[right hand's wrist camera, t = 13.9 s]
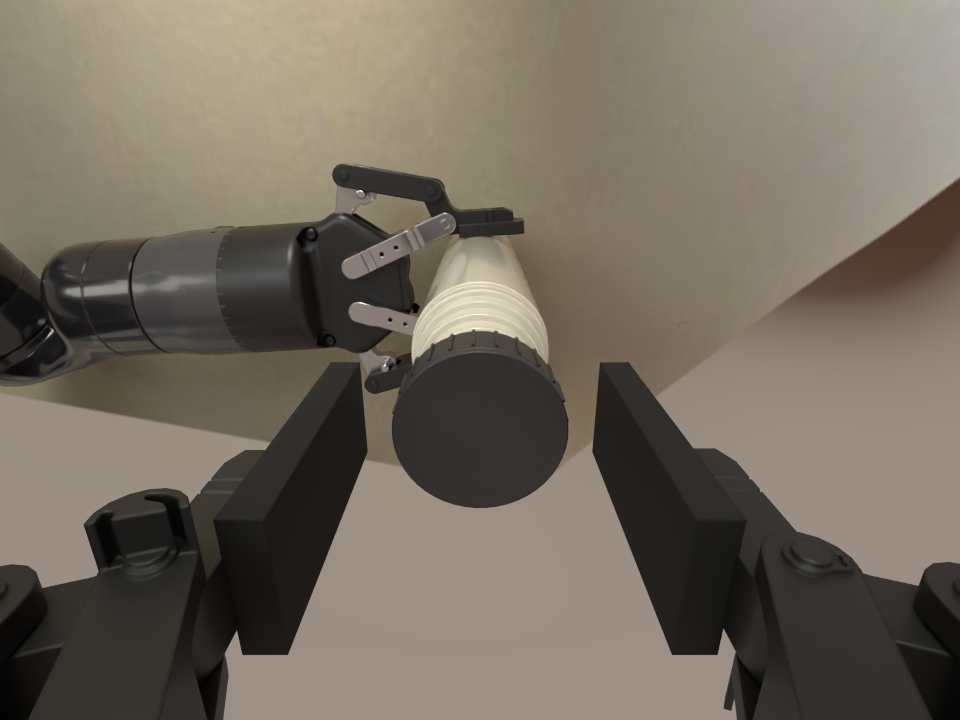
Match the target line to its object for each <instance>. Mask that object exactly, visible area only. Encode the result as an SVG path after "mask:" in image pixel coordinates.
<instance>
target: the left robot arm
mask: <svg viewBox="0 0 960 720" xmlns="http://www.w3.org/2000/svg"><path fill="white" fill-rule="evenodd" d="M333 180H334V181H335V183H336V184H337V199H336V213H333V214H331V215H329V216H328V217H326V218H325V219H323V220H322V221H317V222H305V223H290V224H276V225H261V226H246V227H233V226H219V227H217V228H214V229H202V230H192V231H186V232H181V233H177V234H173V235H168V236H161V237H148V238H133V239H119V240H106V241H94V242H85V243H80V244H75V245H72V246H69V247H66V248H64V249H62V250H61V251H59V252H57V253H56V254H55V255H54V256H53V257H52V258H51V259H50V260H49V262H48V263H47V264H46V266H45V268H44V270H43V273H42V277H41V280H40V279H39V278H38V277H37V276H36V275H35V274H34V273H33V272H32V271H31V270H30V269H29V268H28V267H27V266H25V265H24V264H23V263H22V262H21V261H20V260H19V259H18V258H17V257H16V256H15V255H14V254H13V253H12V252H11V251H10V250H9V249H8V248H7V247H5V246H4V245H3V244H2V243H1V242H0V386H27V385H33V384H36V383H40V382H43V381H46V380H49V379H52V378H55V377H58V376H61V375H64V374H67V373H70V372H73V371H76V370H79V369H82V368H85V367H88V366H91V365H94V364H96V363H99V362H102V361H105V360H107V359H110V358H113V357H117V356H142V355H158V354H174V353H189V354H201V355H223V354H240V353H256V352H272V351H288V350H304V349H320V348H330V347H338V348H342V349H345V350H348V351H350V352H353V353H358V355H359V357H360V360H361V362H362V364H363V367H364V369H365V372H366V374H367V379H366V380H365V388H366V390H367V391H368V392H370V393H373V394H377V393H381V392H384V391H388V390H391V389H394V388H398V387H401V384H402V381H403V378H404V375H405V373H406V374H408V372H409V371H410V369H411V367H412V357H411V353H409V354H405V355H402V356H397V355H396V354H395V353H394V352H392V351H380V350H378V349H377V348H376V347H375V346H376V345H377V344H378V343H379V342H380V341H382V340H383V339H384V338H385V337H386V336H388V335H389V334H390V333H391V332H392V331H395V332H399V333H403V334H406V335H410V336H413V331H414V328H415V325H416V322H417V319H418V317H419V314H420V312H421V310H422V307H423V305H424V303H422V302H418V301H415V300H414V291H413V287H412V285H411V282H410V280H409V271H410V255H409V254H410V253H412V252H414V251H416V250H418V249H420V248H421V247H423V246H425V245H427V244H429V243H432V242H434V241H436V240H438V239H440V238H442V237H445V236H447V235H453V234H459V238H470V237H485V236H499V235H514V234H523V233H524V220H523V219H522V218H513V211H512V210H510V209H507V208H504V207H499V208H484V209H470V210H459V209H457V208H455V207H454V206H453V205H452V204H451V203H450V201H449V198H448V196H447V194H446V192H445V187H444V184H443V183H442V182H441V181H440V180H438V179H435V178H429V177H424V176H418V175H412V174H407V173H401V172H396V171H390V170H385V169H379V168H373V167H368V166H362V165H357V164H339V165H337V166H336V167H335V168H334V170H333ZM377 193H378V194H383V195H389V196H395V197H400V198H406V199H412V200H418V201H423V202H425V204H426V206H427V209H428V211H429V213H430V215H431V216H430V217H428V218H426V219H424V220H422V221H420V222H417V223H415V224H412V225H410V226H408V227H406V228H404V229H402V230H400V231H398V232H395V233H393V234H391V235H389V234H388V233H386V232H385V231H383V230H381V229H380V228H378V227H377V226H375V225H373V224H372V223H370V222H368V221H367V220H365V219H364V218H362V217H360V216H359V215H357V214H355V211H356V209H357V207H358V206H359V205H366V204H369V203H372V202H373V201H374V200H375V199H376V197H377ZM411 310H413V311H411ZM404 322H406V323H407V324H405V323H404Z"/></svg>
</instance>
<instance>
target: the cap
mask: <svg viewBox="0 0 960 720" xmlns="http://www.w3.org/2000/svg"><path fill="white" fill-rule="evenodd" d="M398 394H399V395H398V398H397V401H396V403H395V406H394V409H393V413H392V414H394V416H393V421H392V437H393V443H394V448H395V451H396V454H397V456H398V459H399V461H400V463H401V465H402V466H403V468H404V470H405V471H406V472H407V474H408V475H409V476H410V478H412V480H413V481H414V482H415V483H416V484H417V485H419V486H420V487H421V488H422V489H423V490H425V491H426V492H428V493H429V494H431V495H433V496H434V497H436V498H438V499H441V500H443V501H445V502H448V503H451V504H454V505H459V506H463V507H472V508H489V507H497V506H501V505H506V504H509V503H512V502H515V501H518V500H520V499H522V498H524V497H526V496H528V495H529V494H531V493H532V492H534V491H536V490H537V489H538V488H539V487H541V486H542V485H543V484H544V483H545V482H546V481H547V480H548V479H549V478H550V477H551V476H552V474H553V473H554V471H555V470H556V469H557V467H558V465H559V463H560V461H561V459H562V457H563V455H564V452H565V449H566V445H567V440H568V417H567V414H566V410H565V406H564V404H563V403H564V402H565V399H564V396H563V393H562V391H561V388H560V385H559V382H558V381H556V380H555V377H554V375H553V372H552V369H551V366H550V364H549V363H548V364H546V362H545V361H544V360H543V359H542V357H541V356H540V355H539V354H538V353H537V350H536V349H535V348H534V349H532V348H530V347H529V346H528V345H526V344H525V343H523V342H521V341H519V338H518V337H515V338H513V337H510V336H508V335H504V334H500V333H498V331H494V332H489V331H475V329H473V330H472V331H471V332H464V333H460V334H456V335H454V334H450V337H448V338H445V339H443V340H441V341H439V342H437V343H436V344H434V343H432V344H431V346H430V348H429V349H427V350H426V351H425V352H424V353H423V354H422V355H421V356H420V357H416V358H415V361H414V364H413V365H412V367H411V369H410V371H409V372H408V374H406V373H405V375H404V378H403V381H402V384H401V387H400V389H399V392H398Z"/></svg>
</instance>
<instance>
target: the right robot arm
mask: <svg viewBox="0 0 960 720" xmlns="http://www.w3.org/2000/svg"><path fill="white" fill-rule="evenodd" d="M367 452H368V451H367V439H366V428H365V416H364V405H363V393H362V382H361V370H360V362H331V364H330V365H329V366H328V368H327V369H326V370H325V372H324V373H323V374H322V376H321V377H320V378H319V380H318V381H317V382H316V384H315V385H314V386H313V388H312V389H311V390H310V392H309V393H308V394H307V396H306V397H305V398H304V400H303V401H302V402H301V404H300V405H299V406H298V407H297V409H296V410H295V411H294V413H293V414H292V415H291V417H290V418H289V419H288V421H287V422H286V423H285V425H284V426H283V427H282V429H281V430H280V431H279V433H278V434H277V435H276V437H275V438H274V439H273V441H272V442H271V443H270V445H269V446H268V447H267V449H266V450H245V451H243V452H242V453H240V454H238V455H237V456H235V457H234V458H232V459H230V460H229V461H227V462H226V463H224V464H223V466H222V467H221V468H220V469H219V470H218V471H217V473H216V474H215V475H214V476H213V477H212V480H211V481H209V482H208V483H207V484H206V485H205V487H204V488H203V489H202V490H201V494H198V495H197V496H196V497H195V498H194V499H193V501H192V502H191V503H190V504H189V500H188V497H187V496H186V495H185V494H184V493H182V492H181V491H179V490H173V489H168V488H163V489H149V490H145V491H141V492H137V493H133V494H129V495H126V496H124V497H122V498H119V499H117V500H115V501H112V502H110V503H108V504H107V505H105V506H104V507H102V508H101V509H99V510H98V511H96V512H95V513H93V514H92V516H91V517H90V518H89V519H88V520H87V521H86V522H85V523H84V527H85V530H86V533H87V536H88V540H89V542H90V546H91V549H92V552H93V555H94V558H95V561H96V564H97V567H98V570H99V572H98V574H97V576H95V577H91V578H87V579H83V580H78V581H73V582H69V583H64V584H60V585H55V586H50V587H46V588H42V586H41V584H40V581H39V578H38V576H37V573H36V572H35V571H34V570H33V569H31V568H30V567H28V566H24V565H13V564H12V565H6V566H0V720H223V716H224V708H225V699H226V691H227V683H228V668H227V662H226V658H225V652H226V650H227V648H228V646H229V644H230V642H231V640H232V638H233V636H234V634H235V632H236V631H237V632H238V636H239V641H240V646H241V650H242V654H243V655H288V653H289V651H290V648H291V646H292V643H293V640H294V638H295V635H296V633H297V630H298V628H299V625H300V623H301V620H302V617H303V615H304V612H305V610H306V607H307V605H308V602H309V600H310V597H311V595H312V592H313V590H314V587H315V584H316V582H317V579H318V577H319V574H320V572H321V569H322V567H323V564H324V561H325V559H326V556H327V554H328V551H329V549H330V546H331V544H332V541H333V539H334V536H335V533H336V531H337V528H338V526H339V523H340V521H341V518H342V516H343V513H344V511H345V508H346V505H347V503H348V500H349V498H350V495H351V493H352V490H353V487H354V485H355V483H356V480H357V477H358V475H359V472H360V470H361V467H362V465H363V462H364V460H365V457H366V454H367ZM593 454H594V457H595V460H596V462H597V465H598V467H599V470H600V472H601V475H602V477H603V480H604V482H605V485H606V488H607V490H608V493H609V495H610V498H611V500H612V503H613V505H614V508H615V511H616V513H617V516H618V518H619V521H620V523H621V526H622V528H623V531H624V533H625V536H626V539H627V541H628V544H629V546H630V549H631V551H632V554H633V556H634V559H635V561H636V564H637V567H638V569H639V572H640V574H641V577H642V579H643V582H644V584H645V587H646V590H647V592H648V595H649V597H650V600H651V602H652V605H653V607H654V610H655V612H656V615H657V618H658V620H659V623H660V625H661V628H662V630H663V633H664V635H665V638H666V640H667V643H668V646H669V648H670V651H671V653H672V655H717V654H718V650H719V646H720V641H721V636H722V632H723V628H724V630H725V632H726V634H727V636H728V637H729V639H730V641H731V643H732V645H733V647H734V649H735V651H736V653H735V658H734V662H733V666H732V670H731V675H730V679H729V683H728V687H727V692H726V696H725V703H724V709H727V710H731V709H732V705H733V701H734V698H735V706H736V714H737V720H960V564H958V563H952V562H944V563H934V564H932V565H931V566H929V567H928V568H926V569H925V570H924V573H923V576H922V578H921V581H920V584H919V586H916V585H912V584H907V583H902V582H898V581H893V580H888V579H884V578H879V577H874V576H870V575H867V574H863V573H862V571H861V569H860V568H859V567H858V565H857V564H856V563H855V561H854V560H853V559H852V558H851V557H850V556H849V555H847V554H846V553H845V552H843V551H842V550H841V549H839V548H838V547H836V546H834V545H832V544H830V543H828V542H826V541H824V540H822V539H820V538H818V537H814V536H811V535H807V534H804V533H800V532H796V531H795V529H794V528H793V527H792V526H791V525H790V524H789V522H788V521H787V520H786V519H785V518H784V517H783V515H782V514H781V513H780V512H779V511H778V510H777V508H776V507H775V506H774V505H773V504H772V503H771V502H770V500H769V499H768V498H767V497H766V496H765V495H764V493H763V492H760V489H759V488H758V487H757V485H756V484H755V483H754V482H753V481H752V480H751V479H749V476H748V475H747V474H746V473H745V471H744V470H743V469H742V468H741V467H740V466H739V465H738V463H737V462H736V461H734V460H733V459H731V458H729V457H728V456H726V455H725V454H723V453H721V452H720V451H718V450H717V449H693V447H692V446H691V445H690V443H689V442H688V441H687V439H686V438H685V437H684V435H683V434H682V433H681V431H680V430H679V429H678V427H677V426H676V425H675V423H674V422H673V421H672V419H671V418H670V417H669V416H668V414H667V413H666V411H665V410H664V409H663V408H662V406H661V405H660V404H659V402H658V401H657V400H656V398H655V397H654V396H653V394H652V393H651V392H650V390H649V389H648V388H647V386H646V385H645V384H644V382H643V381H642V380H641V378H640V377H639V376H638V374H637V373H636V372H635V370H634V369H633V368H632V366H631V365H630V364H629V362H600V370H599V382H598V393H597V405H596V416H595V428H594V439H593Z"/></svg>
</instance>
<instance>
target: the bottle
mask: <svg viewBox="0 0 960 720" xmlns="http://www.w3.org/2000/svg"><path fill="white" fill-rule="evenodd" d="M473 329H475V331H489V332H494V331H498V333H500V334H504V335H508V336H510V337H513V338H515V337H518V338H519V341H521V342H523V343H525V344H526V345H528V346H529V347H530V348H532V349H534V348H535V349H536V350H537V353H538V354H539V355H540V356H541V357H542V359H543V360H544V361H545V362H546V364H548V359H549V348H548V336H547V331H546V327H545V324H544V322H543V319H542V317H541V314H540V312H539V309H538V307H537V304H536V302H535V300H534V297H533V295H532V292H531V290H530V287H529V285H528V282H527V280H526V277H525V275H524V272H523V270H522V268H521V265H520V263H519V260H518V258H517V255H516V253H515V250H514V248H513V245H512V243H511V241H510V239H509V238H508V236H507V235H499V236H485V237H470V238H459V234H454V235H453V236H452V238H451V239H450V241H449V243H448V245H447V248H446V250H445V253H444V255H443V258H442V260H441V263H440V265H439V267H438V270H437V272H436V275H435V277H434V280H433V282H432V285H431V287H430V290H429V292H428V295H427V297H426V300H425V302H424V305H423V307H422V310H421V312H420V314H419V317H418V319H417V322H416V325H415V328H414V331H413V336H412V353H411V357H412V365H413V364H414V361H415V358H416V357H420V356H421V355H422V354H423V353H424V352H425V351H426V350H427V349H429V348H430V346H431V344H432V343H434V344H436V343H437V342H439V341H441V340H443V339H445V338H448V337H450V334H454V335H456V334H460V333H464V332H471V331H472V330H473Z"/></svg>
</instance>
